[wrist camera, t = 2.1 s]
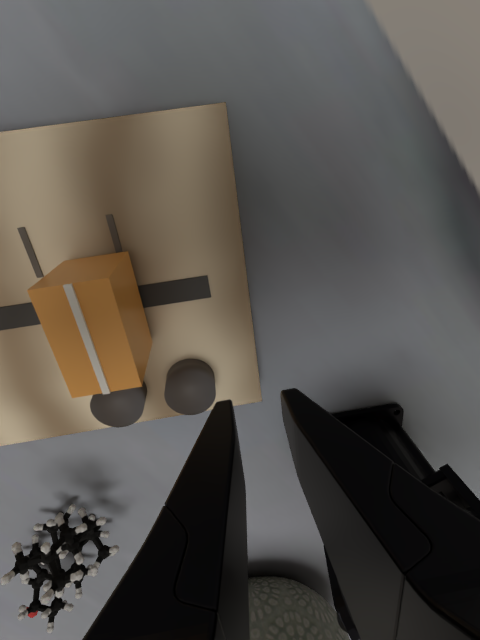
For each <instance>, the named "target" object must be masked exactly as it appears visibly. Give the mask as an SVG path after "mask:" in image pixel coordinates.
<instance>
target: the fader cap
mask: <svg viewBox="0 0 480 640" xmlns="http://www.w3.org/2000/svg"><path fill="white" fill-rule="evenodd" d="M27 292H28V294H29V297H30V299H31V301H32V304H33V306H34V308H35V311H36V313H37V316H38V318H39V320H40V323H41V325H42V328H43V330H44V332H45V335H46V337H47V339H48V342H49V344H50V347H51V349H52V351H53V354H54V356H55V359H56V361H57V363H58V366H59V368H60V370H61V373H62V375H63V378H64V380H65V382H66V385H67V387H68V390H69V392H70V394H71V397H72V398H77V397H83V396H89V395H95V394H101V393H103V395H104V394H110V392H113V391H119V390H125V389H131V388H137V387H142V384H143V380H144V376H145V372H146V367H147V363H148V359H149V355H150V351H151V347H152V338H151V334H150V331H149V327H148V323H147V320H146V316H145V312H144V308H143V305H142V301H141V297H140V294H139V290H138V286H137V282H136V279H135V275H134V271H133V268H132V264H131V260H130V256H129V253H128V251H126V252H119V253H112V254H106V255H99V256H92V257H85V258H79V259H72V260H65V261H63V262H62V263H61V264H59V265H58V266H57V267H56V268H54V269H53V270H52V271H51V272H49V273H48V274H47V275H46V276H44V277H43V278H42V279H40V280H39V281H38V282H37V283H35V284H34V285H33V286H32V287H30V288H29V289H28V290H27Z"/></svg>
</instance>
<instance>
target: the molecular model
mask: <svg viewBox="0 0 480 640" xmlns="http://www.w3.org/2000/svg"><path fill="white" fill-rule="evenodd" d="M75 508H76V506H75V505H74V504H72V505H71V506H70V507H69V509H68V510H67V512H66V513H65V515H64V514H63V513H61V512H60V513H58V514H57V516H56V517H55V520H53V519H49V520H48V521H47V523H46V524H39V523H38V524H36V525H35V526H34V529H33V530H35V531H38V530H47V531H48V532H49V533H51V537H52V541H53V545H52V546H51V545H50V543H48V542H45V543H44V544H43V545H42V546H41V548H39V547H38V545H39V542H38V538H39V535H38V534H35V535H34V536H32V543H33V544H32V550H31V551H30V554H29V555H27V556H24V555H23V552H22V549H21V546H22V545H21V543H18V542H16V543H14V544H13V545H12V551H13V552H14V554H15V558H16V562H15V567H14V568H13V569H12V570H11V571H10V572H9V573H7V574H5V575H4V576H3V577H2V578H1V584H2V585H6V584H7V583H9V582H10V580H11V579H12V578H13V577H15V576H16V575H17V574H18V573H20V577H21V579H22V583H23V584H29V585H32V588H34V595H33V602H32V603H31V604H30V607H26V606H25V605H21V606H20V607H19V612H21V613H20V614H19V615H18V619H19V620H22V619H23V618H25V617H26V616H27V615H28V616H29V617H30V618H33V617H34V616H36V615H37V612H38V611H41V612H43V613H42V614H41V618H43V619H45V618H46V617H47V616H48V617H49V621H48V628H47V632H48V633H51V632H52V631H53V628H54V626H53V625H54V616H56V615H57V613H58V611H59V610H61V609H64V610H67V611H68V612H71V611H72V610H73V605H72V604H68V603H67V601H66V600H64V601H63V602H62V599H61V598H60V597H61V596H63V593H64V587H67V588H69V587H70V586H71V584H72V583H74V584H75V587H76V594H75V597H76V598H78V599H79V598H80V597H81V596H82V592H81V591H82V590H81V582H82V581H83V577H84V576H85V575H87V576H88V575H92V576H93V577H94V576H96V575H97V572H98V571H97V570H98V568H99V566H100V564H101V562H102V560H103V559H105V558H107V557H108V556H114V555H115V554H116V553H117V552H118V551H119V547H118V546H117V545H115V546H113V547H108V546H106V545H104V546H103V544H102V542H101V541H100V539H99V538H98V537H104V538H107V537H109V531H98V530H99V529H100V527H101V525H103V524H105V523H106V518H105V517H100V518H99V519H97V520H95V515H92V514H91V515H90V516H89V519H88V516H87V514H86V512H85V508H80V509H79V510H78V515H80V516H81V518H82V521H83V524H81V525H80V526H77V527H75V528H69V526H68V522H69V521H68V518H69V516H70V515H71V514H72V513H73V511H74V510H75ZM58 529H60V531H61V532H60V538H59V540H58V536H57V531H58ZM76 534H77V535H76ZM89 540H92V541H93V542H94V544H95V545H96V547H97V549H98V550H99V551H98V558H97V560H96V562H95V563H94V564H93V565H88V567H87V568H85V566H84V565H82V563H83V561H84V557H83V556H82V554H81V552H82V547H83V545H85V544H86V543H87V542H88V541H89ZM50 546H51V548H50ZM68 552H72V553H73V555H74V558H75V563H74V564H72V566H71V568H70V569H69V570H68V571H66V572H65V570H64V569H61V564H60V559H63V558H65V556H66V554H67V553H68ZM59 558H60V559H59ZM38 563H41V564H43V565H44V564H48V566H49V569H50V572H48V571H47V569H44V568H43V569H41V567H40V566H39V565H38ZM28 569H31V570H32V569H33V570H34V571H35V572H36V573H37V578H35V579H32V578H28V577H29V571H28ZM46 579H47V580H50V581H49V582H48V583H47V584H45V585H44V586H43V590H44V591H45V592H46V591H47V592H46V593H45V594H44V595H43V596H42V597H41V602H40V600H39V591H40V587H41V586H42V585H43V582H44V581H45V580H46ZM50 587H51V588H50ZM53 594H55V599H54V600H53V601H52V603H51V606H46V605H42V604H41V603H43V604H47V603H48V602H49V601H50V599H51V598H52V596H53Z"/></svg>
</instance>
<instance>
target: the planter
mask: <svg viewBox="0 0 480 640" xmlns="http://www.w3.org/2000/svg"><path fill="white" fill-rule="evenodd" d="M248 592H249V628H250V640H350V639H349V636H348V633H346V632H345V631H343V630H342V629H341V627H340V626H339V624H338V621H337V613H336V612H335V610H334V609H333V608H332V606H331V605H330V604H329V603H328V602H327V601H326V600H325V599H324V598H323V597H322V596H321V595H319V594H318V593H317V592H315V591H314V590H312V589H311V588H309V587H307V586H306V585H304V584H302V583H299V582H297V581H294V580H292V579H288V578H284V577H278V576H257V577H250V578H248Z"/></svg>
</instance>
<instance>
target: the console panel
mask: <svg viewBox="0 0 480 640" xmlns="http://www.w3.org/2000/svg"><path fill="white" fill-rule="evenodd" d="M126 251H128V253H129V256H130V260H131V264H132V268H133V271H134V275H135V279H136V282H137V286H138V290H139V294H140V297H141V301H142V305H143V308H144V312H145V316H146V320H147V323H148V327H149V331H150V334H151V338H152V347H151V351H150V355H149V359H148V363H147V367H146V372H145V376H144V380H143V384H142V387H137V388H131V389H125V390H119V391H113V392H110V394H104V395H103V393H101V394H95V395H89V396H83V397H77V398H72V397H71V394H70V392H69V390H68V387H67V385H66V382H65V380H64V378H63V375H62V373H61V370H60V368H59V366H58V363H57V361H56V359H55V356H54V354H53V351H52V349H51V347H50V344H49V342H48V339H47V337H46V335H45V332H44V330H43V328H42V325H41V323H40V320H39V318H38V316H37V313H36V311H35V308H34V306H33V304H32V301H31V299H30V297H29V294H28V292H27V290H28V289H29V288H30V287H32V286H33V285H34V284H35V283H37V282H38V281H39V280H40V279H42V278H43V277H44V276H46V275H47V274H48V273H49V272H51V271H52V270H53V269H54V268H56V267H57V266H58V265H59V264H61V263H62V262H63V261H65V260H72V259H79V258H85V257H92V256H99V255H106V254H112V253H119V252H126ZM228 399H230V400H232V403H233V406H237V405H242V404H248V403H254V402H260V401H262V397H261V389H260V381H259V373H258V364H257V356H256V348H255V340H254V331H253V323H252V315H251V307H250V299H249V290H248V282H247V274H246V266H245V257H244V249H243V241H242V233H241V224H240V216H239V208H238V200H237V191H236V183H235V175H234V167H233V159H232V150H231V142H230V134H229V126H228V117H227V109H226V102H224V103H216V104H209V105H201V106H193V107H186V108H178V109H171V110H163V111H156V112H148V113H140V114H133V115H125V116H118V117H110V118H103V119H95V120H87V121H80V122H72V123H65V124H57V125H50V126H42V127H34V128H27V129H19V130H12V131H4V132H0V446H3V445H9V444H15V443H21V442H27V441H33V440H38V439H44V438H50V437H56V436H62V435H68V434H73V433H79V432H85V431H91V430H97V429H103V428H108V427H125V426H129V425H131V424H133V423H138V422H143V421H149V420H155V419H161V418H167V417H172V416H178V415H195V414H199V413H202V412H204V411H207V410H212V409H213V407H214V405H215V403H216V402H218V401H223V400H228Z"/></svg>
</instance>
